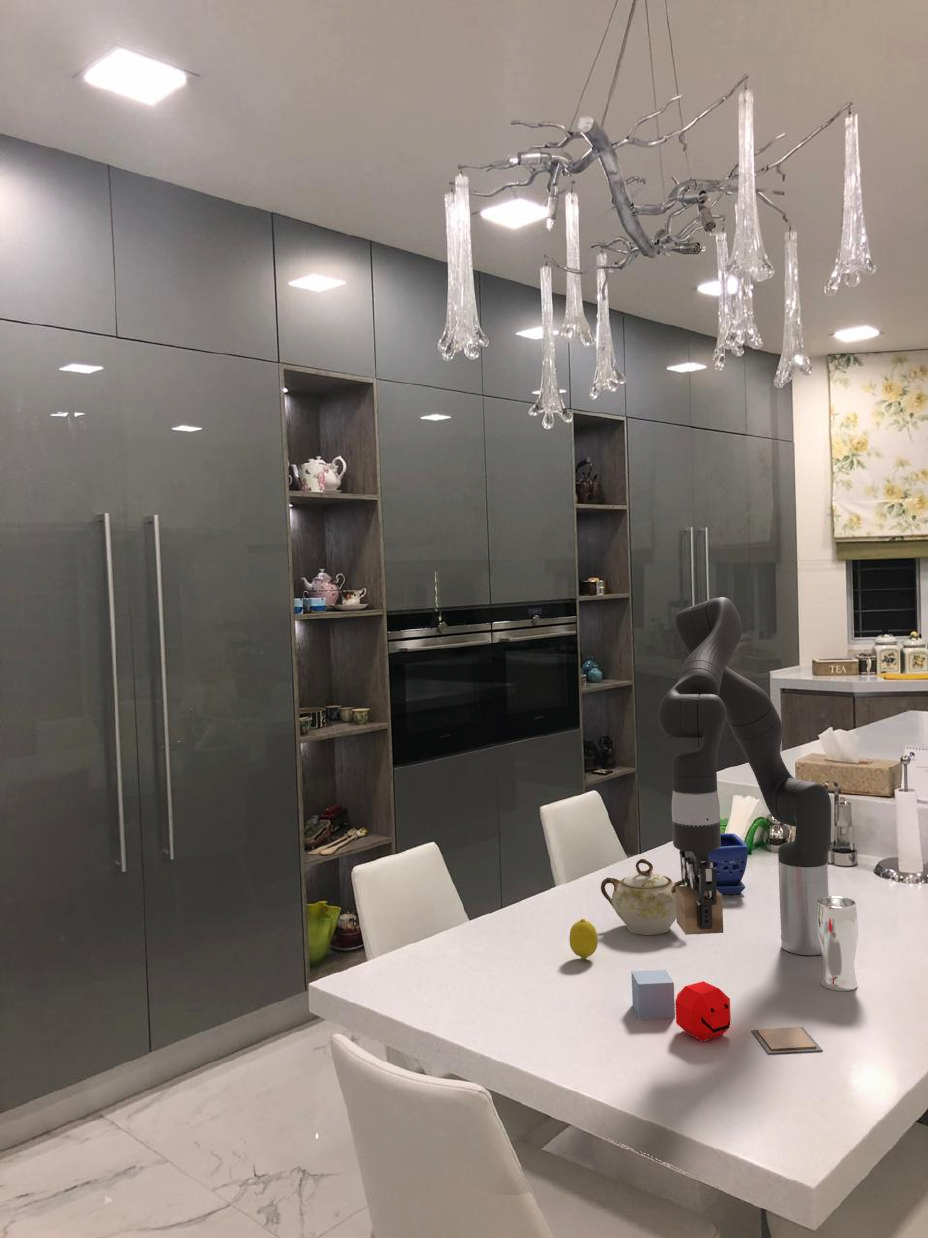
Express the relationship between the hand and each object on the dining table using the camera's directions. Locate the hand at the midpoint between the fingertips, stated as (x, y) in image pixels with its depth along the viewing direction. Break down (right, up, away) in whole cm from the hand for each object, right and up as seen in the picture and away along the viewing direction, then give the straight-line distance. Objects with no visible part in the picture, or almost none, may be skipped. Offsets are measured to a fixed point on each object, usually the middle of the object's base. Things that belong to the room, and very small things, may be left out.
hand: (699, 921), depth 163 cm
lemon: (-14, -18, +36) cm, 43 cm away
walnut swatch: (+13, -18, -3) cm, 22 cm away
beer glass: (+29, -17, +18) cm, 38 cm away
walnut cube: (0, -1, 0) cm, 1 cm away
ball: (+1, -18, 0) cm, 18 cm away
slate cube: (-5, -18, +10) cm, 22 cm away
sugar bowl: (+1, -17, +52) cm, 55 cm away
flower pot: (+22, -16, +79) cm, 84 cm away
